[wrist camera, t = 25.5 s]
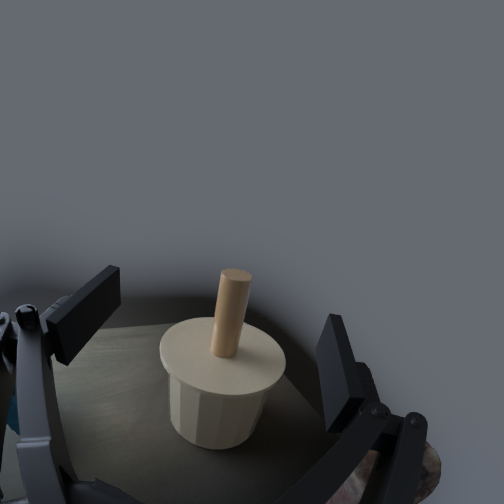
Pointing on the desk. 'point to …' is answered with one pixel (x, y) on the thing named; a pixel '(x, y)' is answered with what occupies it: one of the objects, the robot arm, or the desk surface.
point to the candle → (353, 487)
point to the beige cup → (213, 416)
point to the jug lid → (224, 347)
